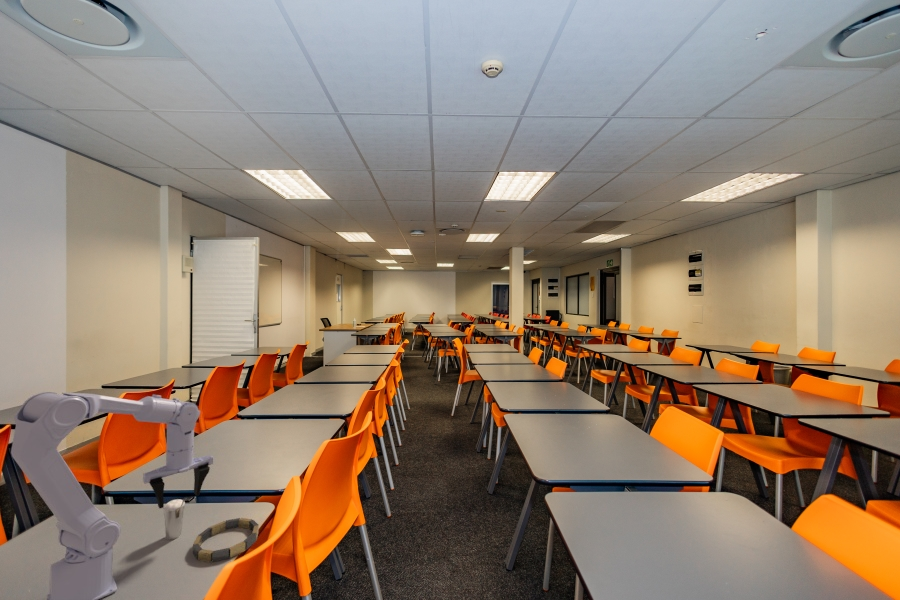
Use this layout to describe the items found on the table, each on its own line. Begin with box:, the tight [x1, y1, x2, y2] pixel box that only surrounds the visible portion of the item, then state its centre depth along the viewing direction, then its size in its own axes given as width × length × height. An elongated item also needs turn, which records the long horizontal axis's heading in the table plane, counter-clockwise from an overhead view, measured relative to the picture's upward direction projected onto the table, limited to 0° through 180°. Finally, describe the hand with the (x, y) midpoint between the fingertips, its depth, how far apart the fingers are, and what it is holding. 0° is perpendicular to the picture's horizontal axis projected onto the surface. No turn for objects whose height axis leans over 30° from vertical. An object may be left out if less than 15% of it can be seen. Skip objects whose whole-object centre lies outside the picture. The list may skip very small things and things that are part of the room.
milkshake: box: [162, 498, 186, 541], centre depth 95 cm, size 5×5×10 cm
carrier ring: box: [192, 517, 260, 563], centre depth 93 cm, size 14×14×2 cm
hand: (179, 500), depth 93 cm, fingers open, 7 cm apart
